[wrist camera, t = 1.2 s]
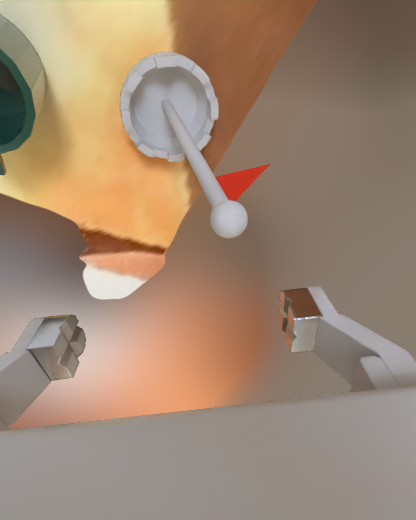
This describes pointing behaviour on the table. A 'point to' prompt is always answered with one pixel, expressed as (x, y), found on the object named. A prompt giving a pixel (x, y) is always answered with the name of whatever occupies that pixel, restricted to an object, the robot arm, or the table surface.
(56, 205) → the table surface
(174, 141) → the flag stand
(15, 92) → the tin
